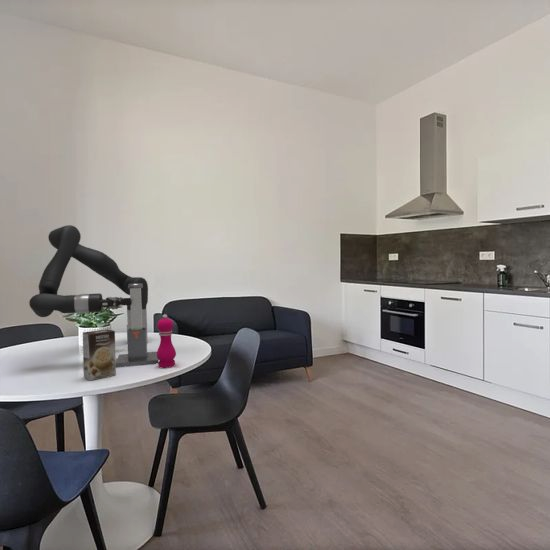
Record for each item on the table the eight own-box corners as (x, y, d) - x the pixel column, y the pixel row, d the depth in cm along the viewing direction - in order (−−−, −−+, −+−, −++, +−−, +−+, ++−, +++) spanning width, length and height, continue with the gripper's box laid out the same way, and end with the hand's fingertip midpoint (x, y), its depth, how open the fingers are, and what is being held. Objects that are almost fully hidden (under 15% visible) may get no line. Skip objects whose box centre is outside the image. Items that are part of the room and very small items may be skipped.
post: (129, 343, 158) (127, 284, 157) (130, 340, 164) (128, 283, 163) (144, 342, 160) (142, 284, 159) (144, 339, 165) (142, 283, 164)
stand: (114, 367, 152) (113, 333, 152) (119, 358, 167) (118, 327, 167) (158, 363, 156) (157, 330, 156) (158, 354, 172) (157, 325, 171)
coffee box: (90, 381, 135) (88, 334, 134) (83, 377, 139) (81, 332, 139) (116, 375, 141) (115, 330, 141) (109, 372, 146) (107, 328, 145)
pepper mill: (159, 369, 148) (157, 316, 147) (155, 365, 154) (153, 314, 154) (178, 366, 151) (176, 314, 150) (173, 362, 157) (172, 312, 157)
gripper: (85, 295, 149) (130, 293, 154) (91, 292, 163) (133, 291, 167) (85, 314, 149) (131, 312, 154) (92, 310, 163) (133, 308, 168)
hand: (132, 301), depth 161 cm, fingers open, 8 cm apart
